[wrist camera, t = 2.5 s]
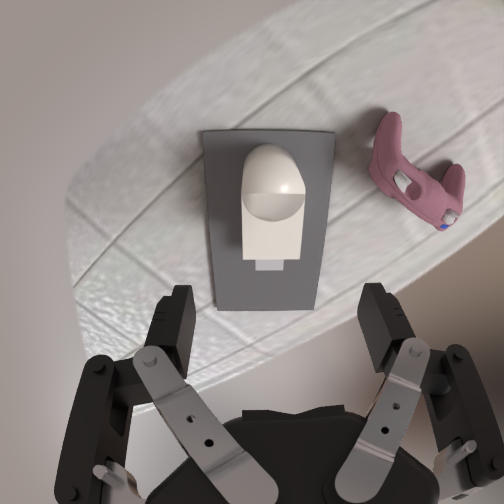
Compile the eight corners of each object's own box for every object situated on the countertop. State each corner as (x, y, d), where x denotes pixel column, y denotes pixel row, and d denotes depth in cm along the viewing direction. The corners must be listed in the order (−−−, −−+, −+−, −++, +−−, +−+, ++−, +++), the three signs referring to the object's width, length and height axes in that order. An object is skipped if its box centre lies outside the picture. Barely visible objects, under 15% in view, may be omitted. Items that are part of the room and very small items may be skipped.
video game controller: (356, 138, 24) (360, 197, 20) (388, 102, 20) (404, 158, 16) (432, 190, 26) (445, 249, 22) (464, 164, 22) (485, 224, 18)
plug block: (243, 143, 22) (240, 163, 18) (296, 144, 22) (307, 163, 18) (244, 249, 27) (243, 285, 23) (290, 248, 27) (296, 285, 23)
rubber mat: (203, 131, 22) (202, 132, 21) (334, 132, 22) (335, 133, 21) (217, 307, 32) (217, 310, 31) (312, 306, 32) (313, 309, 31)
